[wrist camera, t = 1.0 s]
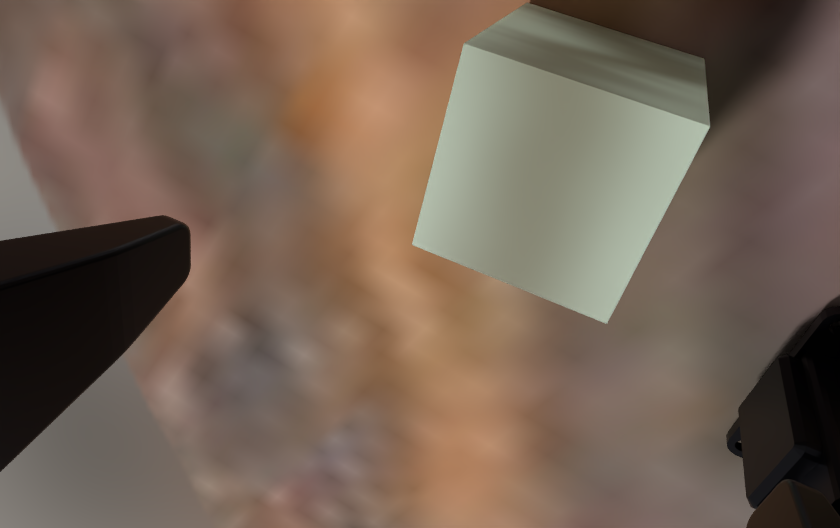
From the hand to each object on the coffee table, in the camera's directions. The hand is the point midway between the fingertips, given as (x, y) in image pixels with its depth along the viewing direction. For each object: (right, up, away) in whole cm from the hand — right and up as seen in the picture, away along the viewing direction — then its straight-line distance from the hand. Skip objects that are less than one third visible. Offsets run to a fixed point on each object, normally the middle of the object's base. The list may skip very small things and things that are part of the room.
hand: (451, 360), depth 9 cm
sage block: (+4, +6, +9) cm, 12 cm away
